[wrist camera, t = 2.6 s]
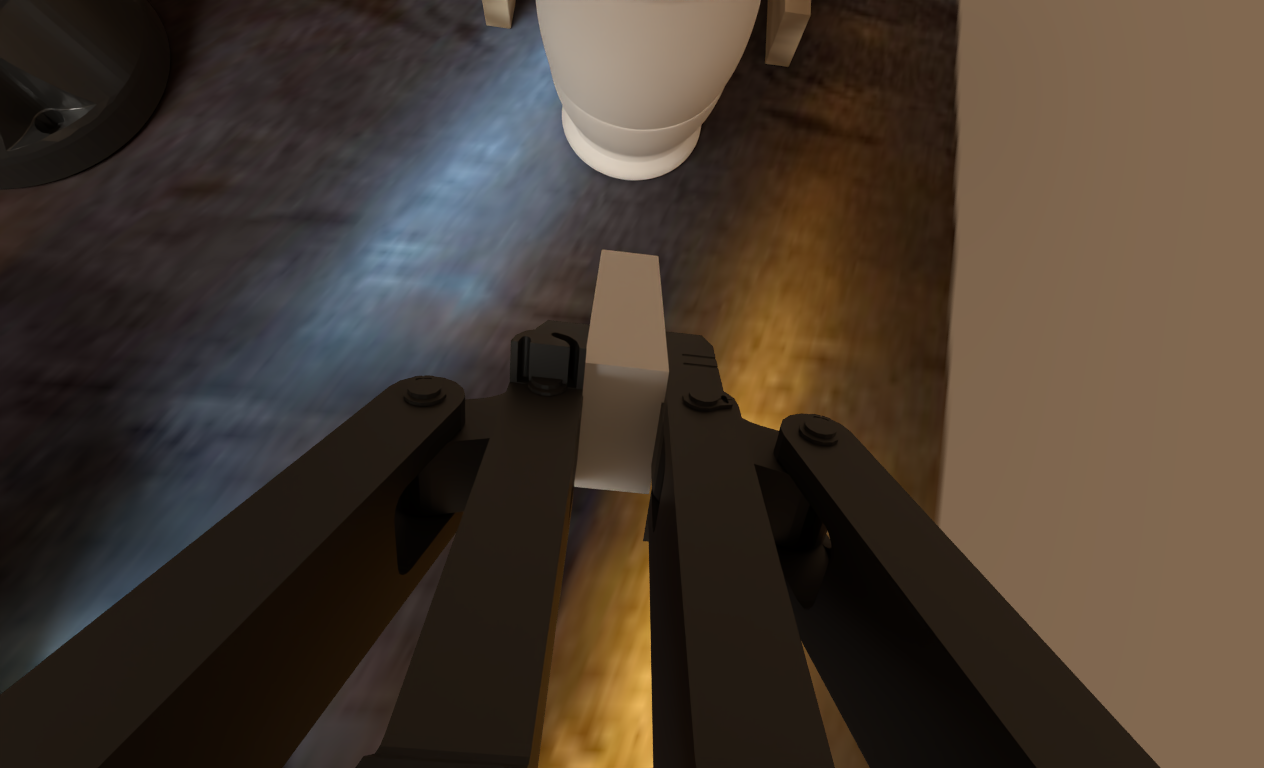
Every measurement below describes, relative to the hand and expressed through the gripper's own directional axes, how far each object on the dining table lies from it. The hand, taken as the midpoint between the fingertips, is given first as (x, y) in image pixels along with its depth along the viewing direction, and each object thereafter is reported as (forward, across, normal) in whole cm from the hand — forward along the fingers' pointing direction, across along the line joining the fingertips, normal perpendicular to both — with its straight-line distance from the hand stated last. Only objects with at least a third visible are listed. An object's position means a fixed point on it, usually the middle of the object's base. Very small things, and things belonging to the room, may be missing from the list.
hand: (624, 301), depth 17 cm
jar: (+25, 0, +2) cm, 25 cm away
